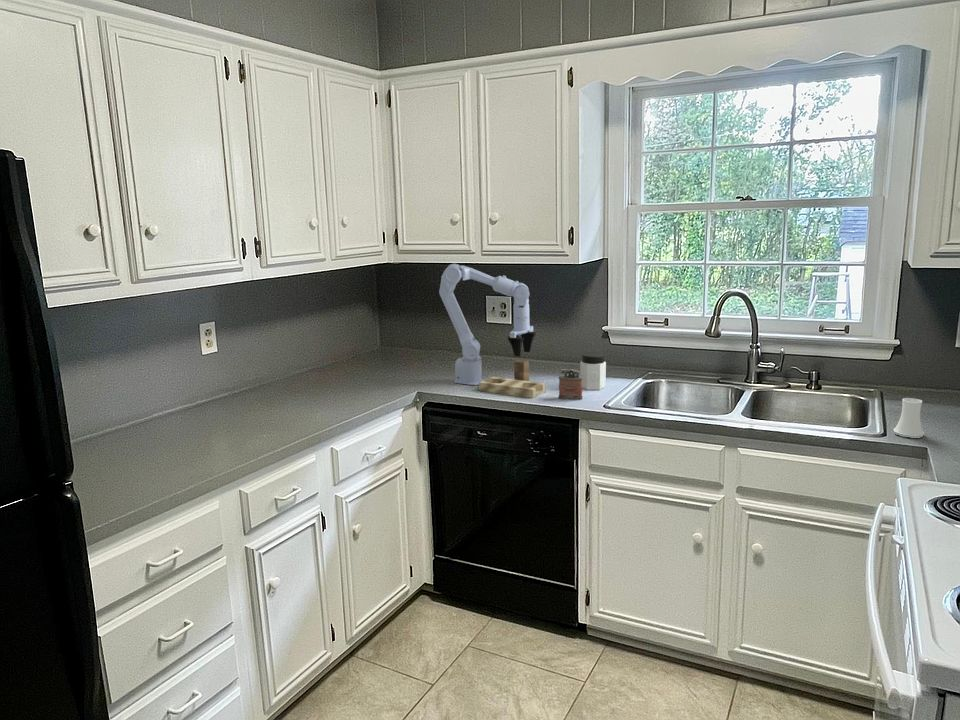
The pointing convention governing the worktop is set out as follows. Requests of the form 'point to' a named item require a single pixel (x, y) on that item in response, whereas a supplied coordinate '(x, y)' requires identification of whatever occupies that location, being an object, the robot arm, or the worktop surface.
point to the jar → (593, 370)
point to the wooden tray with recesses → (512, 387)
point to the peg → (521, 370)
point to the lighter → (570, 385)
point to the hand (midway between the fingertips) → (522, 353)
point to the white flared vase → (910, 418)
